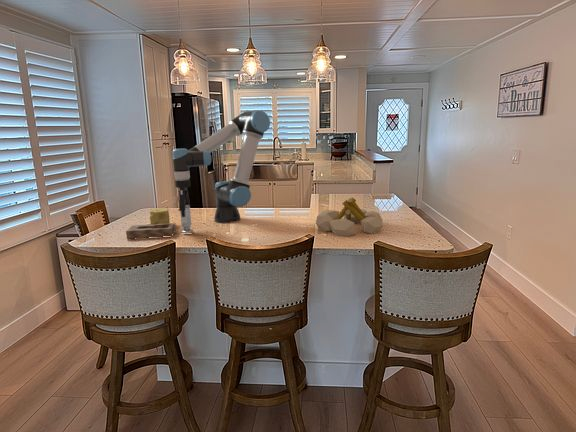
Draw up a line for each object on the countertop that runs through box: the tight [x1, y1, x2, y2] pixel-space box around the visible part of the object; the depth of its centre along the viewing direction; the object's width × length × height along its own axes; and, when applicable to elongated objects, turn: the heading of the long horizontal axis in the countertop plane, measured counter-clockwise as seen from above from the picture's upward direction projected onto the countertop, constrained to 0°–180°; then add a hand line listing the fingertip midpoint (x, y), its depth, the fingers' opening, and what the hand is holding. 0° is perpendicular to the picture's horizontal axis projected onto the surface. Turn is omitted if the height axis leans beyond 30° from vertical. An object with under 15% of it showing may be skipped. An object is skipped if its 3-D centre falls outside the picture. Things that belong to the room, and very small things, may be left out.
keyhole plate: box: [125, 222, 176, 240], centre depth 210 cm, size 22×12×4 cm, turn 96°
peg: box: [179, 205, 194, 233], centre depth 211 cm, size 6×6×14 cm
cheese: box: [149, 207, 170, 224], centre depth 227 cm, size 10×11×10 cm
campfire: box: [315, 197, 383, 237], centre depth 211 cm, size 35×34×17 cm
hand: (186, 219), depth 211 cm, fingers open, 13 cm apart
